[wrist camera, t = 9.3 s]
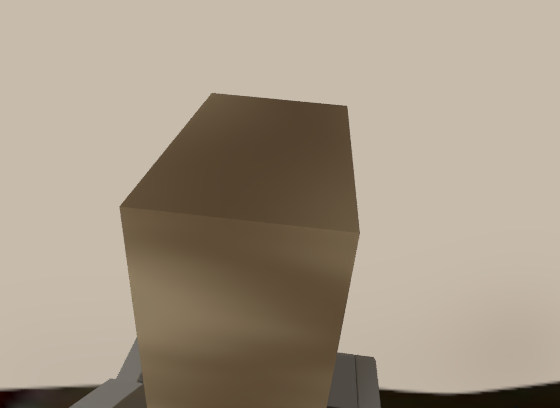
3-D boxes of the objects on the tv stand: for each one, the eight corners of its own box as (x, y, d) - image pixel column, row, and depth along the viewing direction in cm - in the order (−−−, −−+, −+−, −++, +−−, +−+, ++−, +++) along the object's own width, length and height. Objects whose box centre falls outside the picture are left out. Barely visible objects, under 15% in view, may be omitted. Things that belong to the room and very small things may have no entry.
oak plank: (176, 628, 13) (119, 206, 6) (215, 455, 17) (212, 93, 10) (281, 645, 12) (359, 233, 5) (294, 466, 17) (347, 106, 10)
